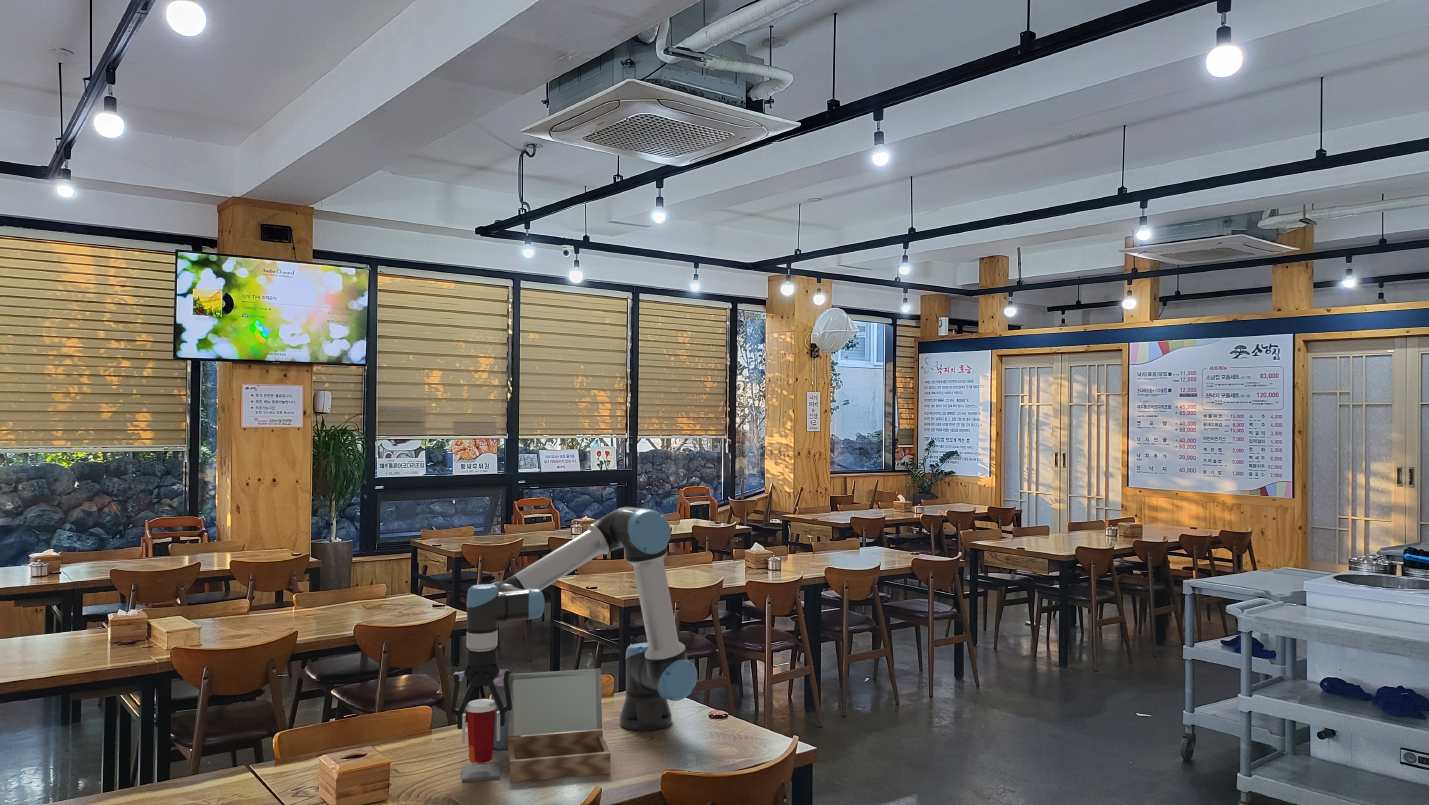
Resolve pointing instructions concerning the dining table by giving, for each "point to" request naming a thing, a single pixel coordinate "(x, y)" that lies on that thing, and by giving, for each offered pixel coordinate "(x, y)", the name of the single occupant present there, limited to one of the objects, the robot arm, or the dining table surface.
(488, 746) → the paper cup
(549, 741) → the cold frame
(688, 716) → the dining table surface
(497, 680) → the moka pot
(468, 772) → the plate
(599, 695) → the lid
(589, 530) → the robot arm
